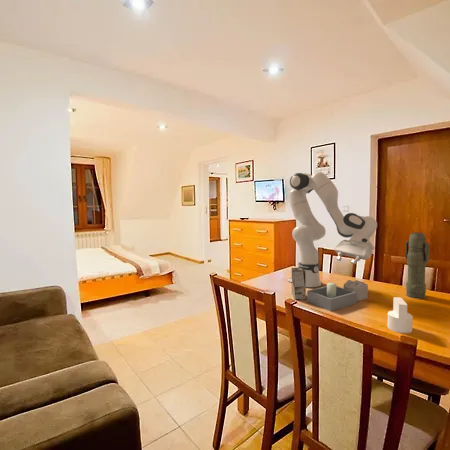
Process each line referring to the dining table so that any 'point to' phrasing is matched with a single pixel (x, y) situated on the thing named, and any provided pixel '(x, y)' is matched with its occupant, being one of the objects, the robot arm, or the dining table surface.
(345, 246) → the robot arm
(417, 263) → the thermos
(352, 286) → the lumpy-topped squat cylinder
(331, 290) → the tin
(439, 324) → the dining table surface
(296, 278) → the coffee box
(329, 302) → the tote
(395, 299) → the base with upright slab
